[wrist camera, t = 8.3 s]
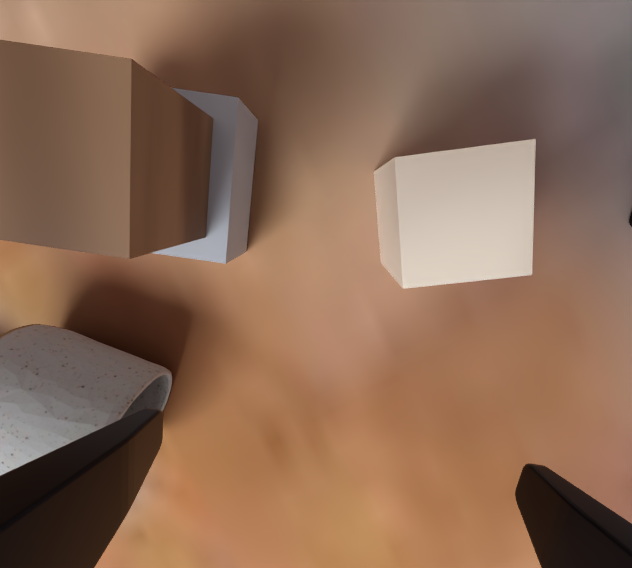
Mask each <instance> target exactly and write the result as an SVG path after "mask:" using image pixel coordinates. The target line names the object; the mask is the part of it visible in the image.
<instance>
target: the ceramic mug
mask: <svg viewBox="0 0 632 568" xmlns="http://www.w3.org/2000/svg"><path fill="white" fill-rule="evenodd" d="M171 385H172V374H171V372H170V371H169V370H168V369H167V368H165V367H163V366H160V365H158V364H155V363H152V362H149V361H146V360H144V359H142V358H139V357H137V356H134V355H132V354H129V353H126V352H124V351H121V350H119V349H116V348H113V347H111V346H108V345H105V344H103V343H100V342H97V341H95V340H93V339H90V338H88V337H86V336H84V335H81V334H78V333H76V332H73V331H71V330H68V329H63V328H58V327H54V326H48V325H41V324H32V325H26V326H22V327H19V328H15V329H12V330H10V331H8V332H6V333H3V334H1V335H0V475H2V474H5V473H7V472H9V471H11V470H13V469H15V468H17V467H20V466H22V465H24V464H26V463H28V462H30V461H32V460H35V459H37V458H39V457H41V456H43V455H45V454H47V453H49V452H52V451H54V450H56V449H58V448H60V447H62V446H64V445H67V444H69V443H71V442H73V441H75V440H77V439H79V438H82V437H84V436H86V435H88V434H90V433H92V432H94V431H96V430H99V429H101V428H103V427H105V426H107V425H109V424H111V423H114V422H116V421H118V420H120V419H122V418H124V417H126V416H128V415H131V414H133V413H135V412H137V411H139V410H141V409H144V408H152V409H159V410H161V411H163V409H164V407H165V405H166V403H167V400H168V397H169V393H170V390H171Z"/></svg>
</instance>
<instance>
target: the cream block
mask: <svg viewBox="0 0 632 568" xmlns="http://www.w3.org/2000/svg"><path fill="white" fill-rule="evenodd" d="M535 148H536V139H530V140H523V141H515V142H507V143H500V144H492V145H484V146H477V147H469V148H462V149H454V150H446V151H439V152H431V153H423V154H416V155H408V156H400V157H394V158H393V159H391V160H390V161H388V162H387V163H386V164H384V165H383V166H381V167H380V168H378V169H377V170H375V171H374V181H375V194H376V207H377V220H378V233H379V245H380V258H381V264H382V265H383V266H384V267H385V268H386V269H387V271H388V272H389V273H390V274H391V275H392V276H393V278H394V279H395V280H396V281H397V282H398V283H399V285H400V286H401V287H402V288H403V289H404V288H414V287H423V286H433V285H442V284H451V283H461V282H470V281H480V280H489V279H499V278H508V277H518V276H527V275H532V256H533V220H534V184H535Z"/></svg>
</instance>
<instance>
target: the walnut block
mask: <svg viewBox="0 0 632 568" xmlns="http://www.w3.org/2000/svg"><path fill="white" fill-rule="evenodd" d="M213 119H214V118H212V117H211V116H209V115H208V114H207V113H205V112H204V111H203V110H201V109H200V108H198V107H197V106H196V105H194V104H193V103H192V102H190V101H189V100H187V99H186V98H185V97H183V96H182V95H181V94H179V93H178V92H176V91H175V90H174V89H172V88H171V87H170V86H168V85H167V84H165V83H164V82H163V81H161V80H160V79H158V78H157V77H156V76H154V75H153V74H152V73H150V72H149V71H147V70H146V69H145V68H143V67H142V66H141V65H139V64H138V63H136V62H135V61H134V60H132V59H129V58H122V57H115V56H108V55H101V54H94V53H88V52H81V51H74V50H67V49H60V48H53V47H46V46H39V45H33V44H26V43H19V42H12V41H5V40H0V240H5V241H12V242H19V243H26V244H32V245H39V246H46V247H53V248H59V249H66V250H73V251H79V252H86V253H93V254H100V255H106V256H113V257H120V258H127V259H131V258H134V257H138V256H141V255H145V254H149V253H152V252H156V251H159V250H163V249H167V248H170V247H174V246H177V245H181V244H184V243H188V242H192V241H195V240H199V239H202V238H206V228H207V212H208V197H209V181H210V166H211V150H212V135H213Z"/></svg>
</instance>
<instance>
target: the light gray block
mask: <svg viewBox="0 0 632 568" xmlns="http://www.w3.org/2000/svg"><path fill="white" fill-rule="evenodd" d="M172 89H174V90H175V91H176V92H178V93H179V94H181V95H182V96H183V97H185V98H186V99H187V100H189V101H190V102H192V103H193V104H194V105H196V106H197V107H198V108H200V109H201V110H203V111H204V112H205V113H207V114H208V115H209V116H211V117H212V118H214V119H213V135H212V150H211V166H210V181H209V197H208V212H207V228H206V238H202V239H199V240H195V241H192V242H188V243H184V244H181V245H177V246H174V247H170V248H167V249H163V250H159V251H156V252H152V253H156V254H163V255H170V256H177V257H184V258H191V259H197V260H204V261H211V262H218V263H225V264H226V263H227V262H229V261H231V260H233V259H234V258H236V257H238V256H239V255H241V254H243V253H245V252H246V251H247V240H248V229H249V218H250V206H251V195H252V184H253V173H254V162H255V151H256V140H257V128H258V119H257V118H256V117H255V116H254V115H253V114H252V113H251V111H250V110H249V109H248V108H247V107H246V106H245V104H244V103H243V102H242V101H241V100H240V99H239V98H238V97H234V96H227V95H220V94H212V93H205V92H198V91H191V90H184V89H177V88H172Z"/></svg>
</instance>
